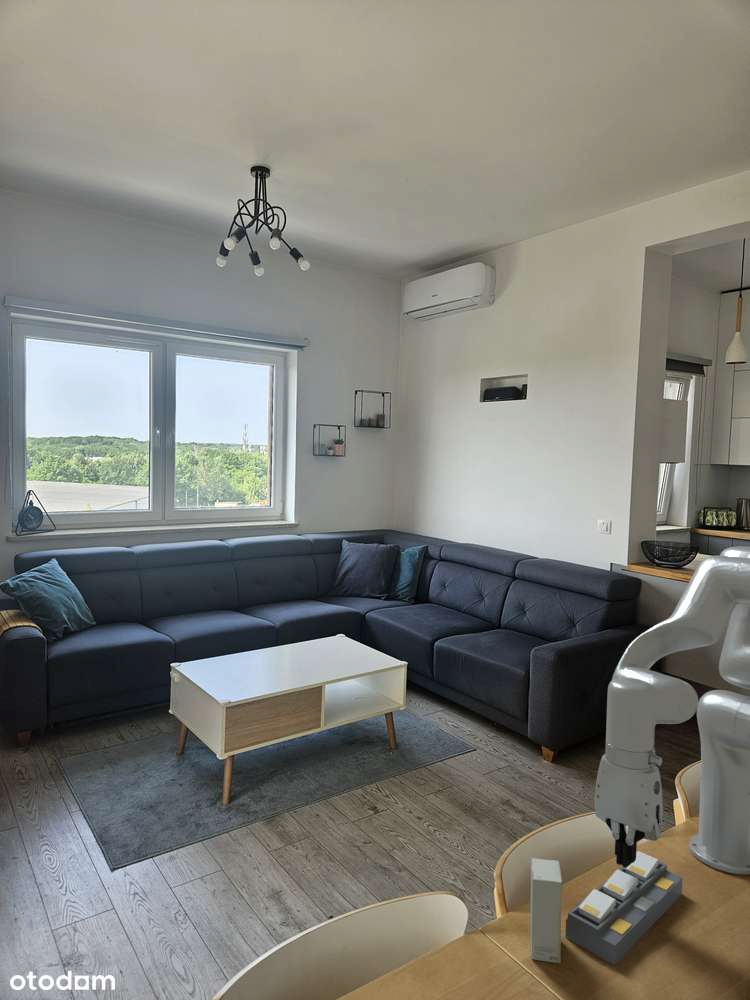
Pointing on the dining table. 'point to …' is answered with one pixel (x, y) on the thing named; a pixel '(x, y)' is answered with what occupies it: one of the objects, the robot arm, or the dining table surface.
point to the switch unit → (625, 916)
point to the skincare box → (545, 910)
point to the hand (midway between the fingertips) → (625, 862)
